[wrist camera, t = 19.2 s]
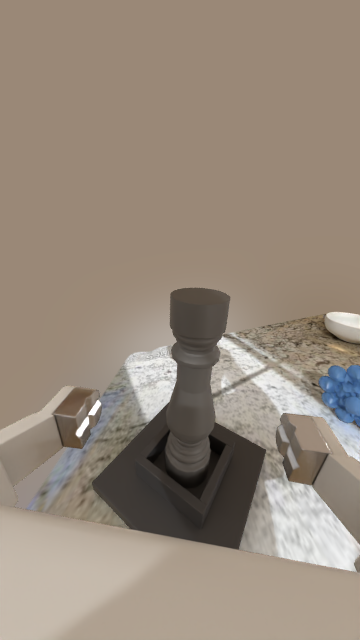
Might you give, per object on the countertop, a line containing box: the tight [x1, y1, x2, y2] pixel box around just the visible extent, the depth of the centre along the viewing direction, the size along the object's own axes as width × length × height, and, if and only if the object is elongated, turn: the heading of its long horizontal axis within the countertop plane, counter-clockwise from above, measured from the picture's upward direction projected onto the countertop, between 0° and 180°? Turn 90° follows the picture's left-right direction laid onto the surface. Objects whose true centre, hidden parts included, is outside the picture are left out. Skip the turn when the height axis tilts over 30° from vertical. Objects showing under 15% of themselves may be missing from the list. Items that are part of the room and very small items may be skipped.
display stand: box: [92, 403, 266, 550], centre depth 29 cm, size 18×18×4 cm
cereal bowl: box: [325, 312, 360, 344], centre depth 71 cm, size 17×17×7 cm
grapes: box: [319, 365, 360, 427], centre depth 36 cm, size 12×7×12 cm, turn 50°
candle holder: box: [165, 288, 230, 488], centre depth 24 cm, size 6×6×25 cm
